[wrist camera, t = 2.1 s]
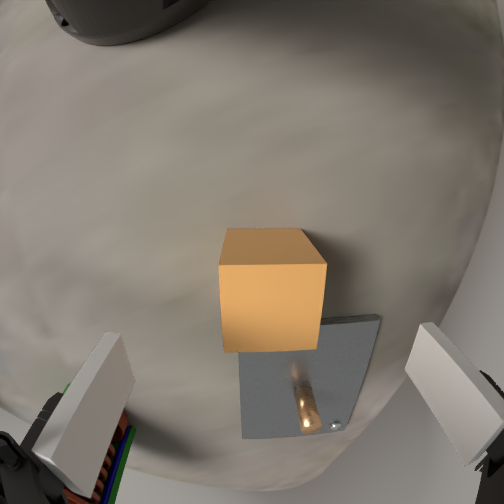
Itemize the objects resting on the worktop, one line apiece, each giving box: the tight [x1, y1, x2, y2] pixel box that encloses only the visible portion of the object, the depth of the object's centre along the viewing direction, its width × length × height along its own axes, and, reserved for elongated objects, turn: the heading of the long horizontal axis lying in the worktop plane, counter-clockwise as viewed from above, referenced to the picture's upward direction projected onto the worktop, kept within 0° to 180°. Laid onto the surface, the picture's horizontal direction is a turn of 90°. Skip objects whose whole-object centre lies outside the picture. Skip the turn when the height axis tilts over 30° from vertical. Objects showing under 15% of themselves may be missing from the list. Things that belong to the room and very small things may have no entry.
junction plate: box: [239, 314, 380, 439], centre depth 22 cm, size 16×12×6 cm
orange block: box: [219, 229, 327, 352], centre depth 17 cm, size 5×5×7 cm
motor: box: [62, 383, 136, 504], centre depth 17 cm, size 10×9×20 cm
